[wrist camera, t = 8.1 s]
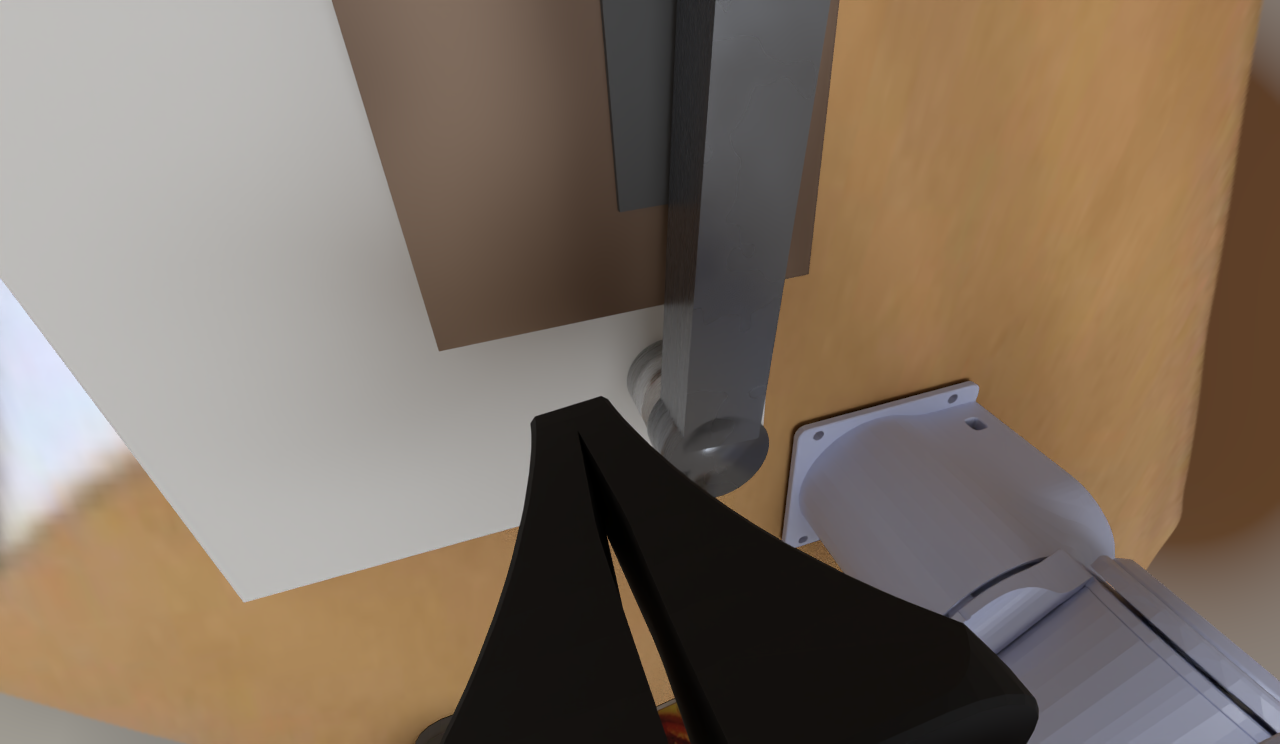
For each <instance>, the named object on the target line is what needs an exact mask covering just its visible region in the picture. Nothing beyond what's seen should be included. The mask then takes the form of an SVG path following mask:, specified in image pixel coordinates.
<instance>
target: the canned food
mask: <svg viewBox="0 0 1280 744" xmlns="http://www.w3.org/2000/svg"><path fill="white" fill-rule="evenodd" d="M656 708H657V711H658V714H659V717H660V719H661V722H662V725H663V728H664V731H665V734H666V737H667V740H668V743H669V744H691V743H690V740H689V737H688V735H687V732H686V729H685V726H684V723H683V720H682V717H681V714H680V711H679V708H678V705H677V702H676V700H675V699H673V700H670V701H668V702H666V703H664V704H662V705H659V706H657V707H656Z"/></svg>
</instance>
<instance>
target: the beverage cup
mask: <svg viewBox="0 0 1280 744" xmlns="http://www.w3.org/2000/svg"><path fill="white" fill-rule="evenodd" d="M452 716H453V715H452ZM452 716H449V717H447V718H444V719H441V720H439V721H438V722H436V723H434V724H432V725H431V726H429V727H428V728H427V729H426V730H425V731H423V732H422V733H421V734H420V736H419V737H418V739H417V741H416V744H440V742H441V740H442V737H443V735H444V733H445V731H446V729H447V727H448V725H449V722H450V720H451V718H452Z"/></svg>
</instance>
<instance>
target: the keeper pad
mask: <svg viewBox="0 0 1280 744" xmlns="http://www.w3.org/2000/svg"><path fill="white" fill-rule="evenodd" d="M600 7H601V19H602V30H603V42H604V54H605V66H606V78H607V90H608V101H609V113H610V125H611V137H612V149H613V161H614V172H615V184H616V196H617V208H618V211H619V212H624V211H630V210H636V209H642V208H648V207H653V206H659V205H665V204H668V203H669V180H670V156H671V133H672V109H673V86H674V62H675V39H676V15H677V0H600Z"/></svg>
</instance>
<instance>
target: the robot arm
mask: <svg viewBox="0 0 1280 744" xmlns="http://www.w3.org/2000/svg"><path fill="white" fill-rule="evenodd" d="M978 392H979V386H978V385H977V384H975V383H974V382H972V381H967V382H963V383H960V384H956V385H952V386H948V387H945V388H941V389H937V390H934V391H930V392H926V393H922V394H919V395H915V396H911V397H908V398H904V399H900V400H896V401H893V402H889V403H885V404H881V405H878V406H874V407H870V408H867V409H863V410H859V411H855V412H852V413H848V414H844V415H841V416H837V417H833V418H829V419H826V420H822V421H818V422H815V423H811V424H807V425H804V426H802V427H800V428H799V429H798V430H797V431H796V433H795V435H794V442H793V450H792V459H791V467H790V476H789V484H788V493H787V501H786V510H785V518H784V527H783V535H782V541H781V540H780V539H778V538H776V537H775V536H773V535H771V534H770V533H768V532H766V531H765V530H763V529H761V528H760V527H758V526H756V525H755V524H753V523H752V522H750V521H749V520H747V519H745V518H744V517H742V516H741V515H739V514H738V513H736V512H735V511H733V510H732V509H730V508H729V507H727V506H726V505H724V504H723V503H722V502H720V501H719V500H717V499H716V498H715V497H713V496H712V495H710V494H709V493H708V492H706V491H705V490H704V489H702V488H701V487H700V486H699V485H697V484H696V483H695V482H693V481H692V480H691V479H690V478H688V477H687V476H686V475H685V474H683V473H682V472H681V471H680V470H678V469H677V468H676V467H675V466H674V465H672V464H671V463H670V462H669V461H668V460H667V459H666V458H665V457H663V456H662V455H661V454H660V453H659V452H658V451H657V450H655V449H654V448H653V447H652V446H651V445H650V444H649V443H648V442H647V441H646V440H645V439H644V438H643V437H642V436H641V435H640V434H639V433H638V432H637V431H636V430H635V429H634V428H633V427H632V426H631V425H630V424H629V423H628V422H627V421H626V420H625V419H624V418H623V417H622V416H621V414H620V413H619V412H618V411H617V410H616V409H615V407H614V406H613V405H612V404H611V402H610V401H609V399H607V398H605V397H603V396H599V397H596V398H593V399H590V400H586V401H583V402H580V403H577V404H573V405H570V406H567V407H564V408H560V409H557V410H554V411H551V412H547V413H544V414H541V415H538V416H535V417H534V418H533V420H532V421H531V423H530V426H531V457H530V467H529V476H528V483H527V489H526V495H525V501H524V508H523V513H522V518H521V522H520V526H519V530H518V535H517V539H516V543H515V548H514V552H513V556H512V560H511V563H510V567H509V570H508V574H507V577H506V580H505V584H504V587H503V590H502V593H501V596H500V599H499V602H498V605H497V608H496V611H495V614H494V617H493V620H492V623H491V625H490V628H489V630H488V633H487V636H486V638H485V641H484V644H483V646H482V649H481V652H480V654H479V657H478V659H477V662H476V664H475V667H474V669H473V672H472V674H471V676H470V679H469V681H468V683H467V686H466V688H465V690H464V692H463V694H462V697H461V699H460V701H459V703H458V705H457V707H456V709H455V712H454V714H453V716H452V718H451V720H450V722H449V725H448V727H447V729H446V731H445V733H444V735H443V737H442V740H441V742H440V744H669V743H668V740H667V737H666V734H665V731H664V728H663V725H662V722H661V719H660V717H659V714H658V711H657V708H656V705H655V702H654V699H653V696H652V693H651V690H650V687H649V684H648V681H647V678H646V675H645V672H644V670H643V667H642V664H641V661H640V658H639V655H638V652H637V649H636V646H635V643H634V640H633V637H632V634H631V631H630V628H629V625H628V622H627V619H626V616H625V613H624V610H623V606H622V602H621V597H620V593H619V588H618V584H617V579H616V575H615V571H614V566H613V562H612V557H611V553H610V548H609V544H608V539H609V541H610V543H611V546H612V548H613V550H614V552H615V555H616V557H617V559H618V561H619V564H620V566H621V568H622V570H623V573H624V575H625V577H626V579H627V581H628V584H629V586H630V588H631V590H632V593H633V595H634V597H635V599H636V602H637V604H638V606H639V608H640V610H641V613H642V615H643V617H644V619H645V622H646V624H647V626H648V628H649V631H650V633H651V635H652V637H653V640H654V642H655V645H656V647H657V650H658V652H659V655H660V657H661V660H662V662H663V665H664V668H665V670H666V673H667V676H668V679H669V682H670V685H671V688H672V691H673V694H674V697H675V700H676V702H677V705H678V708H679V711H680V714H681V717H682V720H683V723H684V726H685V729H686V732H687V735H688V737H689V740H690V743H691V744H1280V681H1279V680H1277V679H1276V678H1275V677H1274V676H1273V675H1272V674H1271V673H1269V672H1268V671H1267V670H1266V669H1265V668H1263V667H1262V666H1261V665H1260V664H1259V663H1257V662H1256V661H1255V660H1254V659H1253V658H1251V657H1250V656H1249V655H1248V654H1247V653H1245V652H1244V651H1243V650H1242V649H1241V648H1239V647H1238V646H1237V645H1236V644H1235V643H1233V642H1232V641H1231V640H1230V639H1229V638H1227V637H1226V636H1225V635H1224V634H1222V633H1221V632H1220V631H1219V630H1218V629H1216V628H1215V627H1214V626H1213V625H1212V624H1210V623H1209V622H1208V621H1207V620H1206V619H1204V618H1203V617H1202V616H1201V615H1199V614H1198V613H1197V612H1196V611H1195V610H1193V609H1192V608H1191V607H1190V606H1189V605H1187V604H1186V603H1185V602H1184V601H1182V600H1181V599H1180V598H1179V597H1178V596H1176V595H1175V594H1174V593H1173V592H1172V591H1170V590H1169V589H1168V588H1167V587H1165V586H1164V585H1163V584H1161V583H1160V582H1159V581H1158V580H1157V579H1156V578H1154V577H1153V576H1152V575H1151V574H1149V573H1148V572H1147V571H1146V570H1145V569H1143V568H1142V567H1141V566H1140V565H1138V564H1137V563H1136V562H1134V561H1133V560H1131V559H1122V558H1115V545H1114V538H1113V534H1112V531H1111V528H1110V526H1109V524H1108V521H1107V519H1106V517H1105V516H1104V514H1103V512H1102V510H1101V509H1100V507H1099V505H1098V504H1097V502H1096V501H1095V500H1094V498H1093V497H1092V496H1091V495H1090V493H1089V492H1088V491H1087V490H1086V489H1085V488H1084V487H1083V486H1082V485H1081V484H1080V483H1079V482H1078V481H1077V480H1076V479H1075V478H1073V477H1072V476H1071V475H1070V474H1069V473H1067V472H1066V471H1065V470H1063V469H1062V468H1061V467H1060V466H1058V465H1057V464H1056V463H1054V462H1053V461H1052V460H1050V459H1049V458H1048V457H1047V456H1045V455H1044V454H1043V453H1041V452H1040V451H1039V450H1038V449H1036V448H1035V447H1034V446H1032V445H1031V444H1030V443H1029V442H1027V441H1026V440H1025V439H1023V438H1022V437H1021V436H1020V435H1018V434H1017V433H1016V432H1014V431H1013V430H1012V429H1010V428H1009V427H1008V426H1007V425H1005V424H1004V423H1003V422H1001V421H1000V420H999V419H998V418H996V417H995V416H994V415H992V414H991V413H990V412H989V411H987V410H986V409H985V408H983V407H982V406H981V405H980V404H978V403H977V402H975V401H976V398H977V395H978ZM816 432H817V433H816ZM815 433H816V434H815ZM606 534H607V535H606ZM607 537H608V539H607ZM818 540H821V541H822V543H823V544H824V546H825V547H826V549H827V550H828V551H829V553H830V554H831V556H832V557H833V558H834V560H835V561H836V563H837V564H838V565H839V567H840V568H841V570H842V571H843V572H844V573H842V572H840V571H838V570H837V569H835V568H833V567H831V566H829V565H827V564H825V563H823V562H821V561H819V560H817V559H816V558H814V557H812V556H810V555H808V554H806V553H804V552H802V551H800V550H798V549H796V547H799V546H802V545H805V544H808V543H812V542H815V541H818ZM1114 558H1115V559H1114ZM1105 581H1107V582H1108V583H1109V584H1110V585H1111V586H1112V587H1113V588H1114V589H1115V590H1114V589H1113V588H1112V587H1111V586H1110V585H1109V584H1108V583H1107V582H1105Z"/></svg>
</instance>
